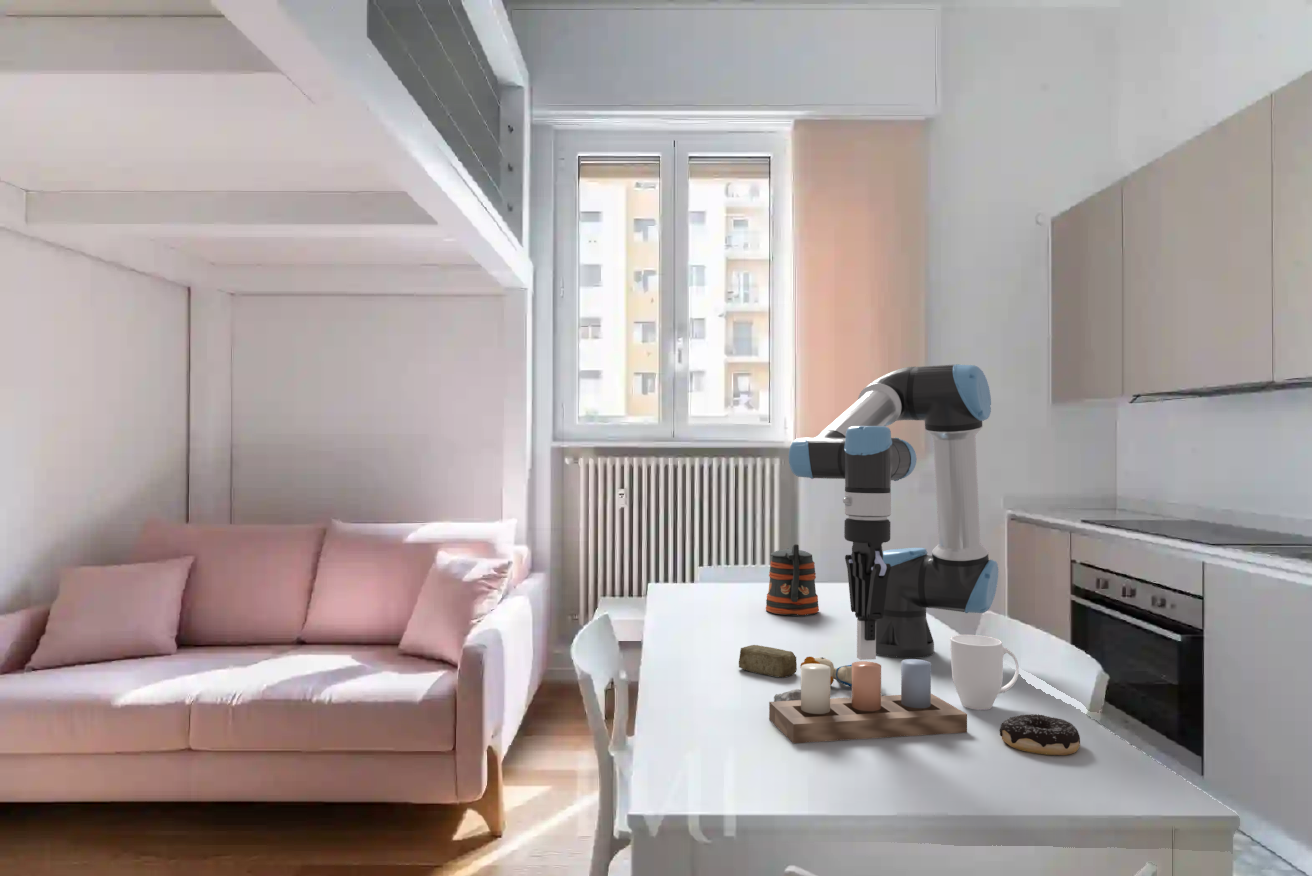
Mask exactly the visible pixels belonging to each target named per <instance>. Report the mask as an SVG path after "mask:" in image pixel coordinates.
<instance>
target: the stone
mask: <svg viewBox="0 0 1312 876" xmlns="http://www.w3.org/2000/svg"><path fill="white" fill-rule="evenodd" d="M794 700H801V689H798V688H796V689H792V690H788V691H785V692H783V693H782V692H781V693H778V694H777V693H776V694H775V695H774V696H773V702H775V701H794Z"/></svg>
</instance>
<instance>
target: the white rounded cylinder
mask: <svg viewBox="0 0 1312 876" xmlns="http://www.w3.org/2000/svg"><path fill="white" fill-rule="evenodd" d="M800 690H801V710H802V711H804V712H807V713H812V714H825V713H828V712H830V699H831V685H830V667H829V666H827V665H823V664H804V665H802V666H800Z"/></svg>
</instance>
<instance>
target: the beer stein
mask: <svg viewBox="0 0 1312 876" xmlns="http://www.w3.org/2000/svg"><path fill="white" fill-rule="evenodd" d="M791 547H792V548H791V549H790V548H786V549H781V550H780V549H779V550H775V551H773V552H770V554H769V556H770V557H772V558H771V560H770V564H769V565H770V566H769V574H768V577H769V582H768V591H767V594H766V599H765V602H766V603H765V611H766V612H767V613H768V612H769V613H772V614H775V615H781V616H796V617H797V616H804V617H805V616H810V615H815V614H817V613H819V611H820V608H819V597H818V596H819V595H818V594H817V591H816V582H815V581H816V578H817V576H816V574H817V573H816V568H815V562H814V560H813V554H811V553H810V552H809V551H805V550H801V549H800V547H799V544H798V543H797V544H795V543H794V544H793V545H792V546H791Z"/></svg>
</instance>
